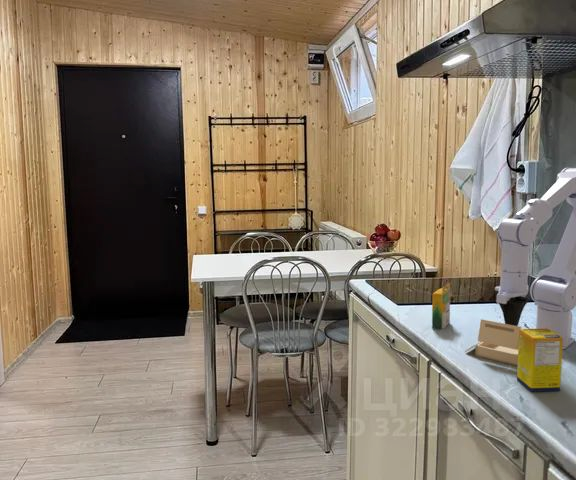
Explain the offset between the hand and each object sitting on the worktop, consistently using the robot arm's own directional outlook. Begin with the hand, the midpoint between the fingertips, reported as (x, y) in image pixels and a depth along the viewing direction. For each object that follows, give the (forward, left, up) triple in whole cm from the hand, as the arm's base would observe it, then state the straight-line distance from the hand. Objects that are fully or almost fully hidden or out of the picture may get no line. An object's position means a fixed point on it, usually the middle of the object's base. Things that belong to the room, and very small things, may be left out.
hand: (511, 327), depth 118 cm
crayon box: (-9, -22, -6) cm, 24 cm away
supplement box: (+15, +11, -6) cm, 20 cm away
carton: (+1, 0, -6) cm, 6 cm away
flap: (+7, 0, 0) cm, 7 cm away
